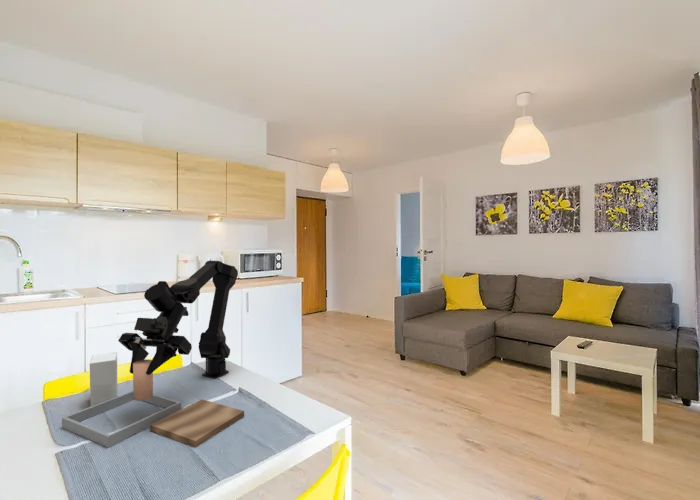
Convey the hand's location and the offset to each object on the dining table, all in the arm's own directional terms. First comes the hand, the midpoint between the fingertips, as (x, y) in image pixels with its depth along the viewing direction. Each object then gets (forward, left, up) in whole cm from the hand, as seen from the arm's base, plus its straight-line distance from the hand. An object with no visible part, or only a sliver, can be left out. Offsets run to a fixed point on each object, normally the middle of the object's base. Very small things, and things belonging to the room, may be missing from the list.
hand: (139, 373), depth 90 cm
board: (+13, +8, -13) cm, 20 cm away
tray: (-7, 0, -13) cm, 15 cm away
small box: (-23, +4, -14) cm, 27 cm away
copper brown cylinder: (0, +1, -7) cm, 7 cm away
